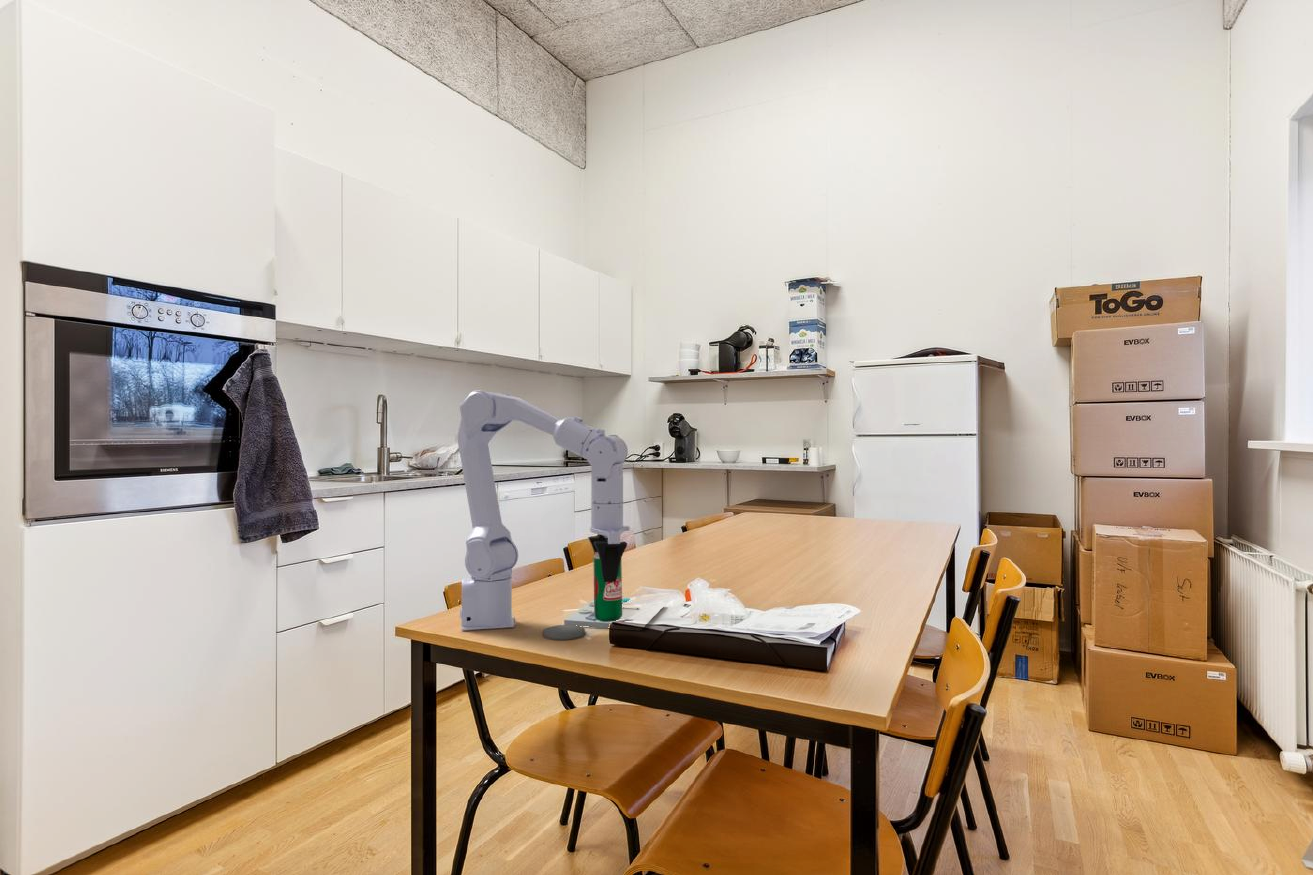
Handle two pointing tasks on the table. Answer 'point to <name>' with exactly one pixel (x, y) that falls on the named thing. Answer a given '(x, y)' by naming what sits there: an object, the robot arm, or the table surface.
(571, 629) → the rubber mat
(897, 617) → the table surface
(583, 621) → the electronic device
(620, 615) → the soda can
